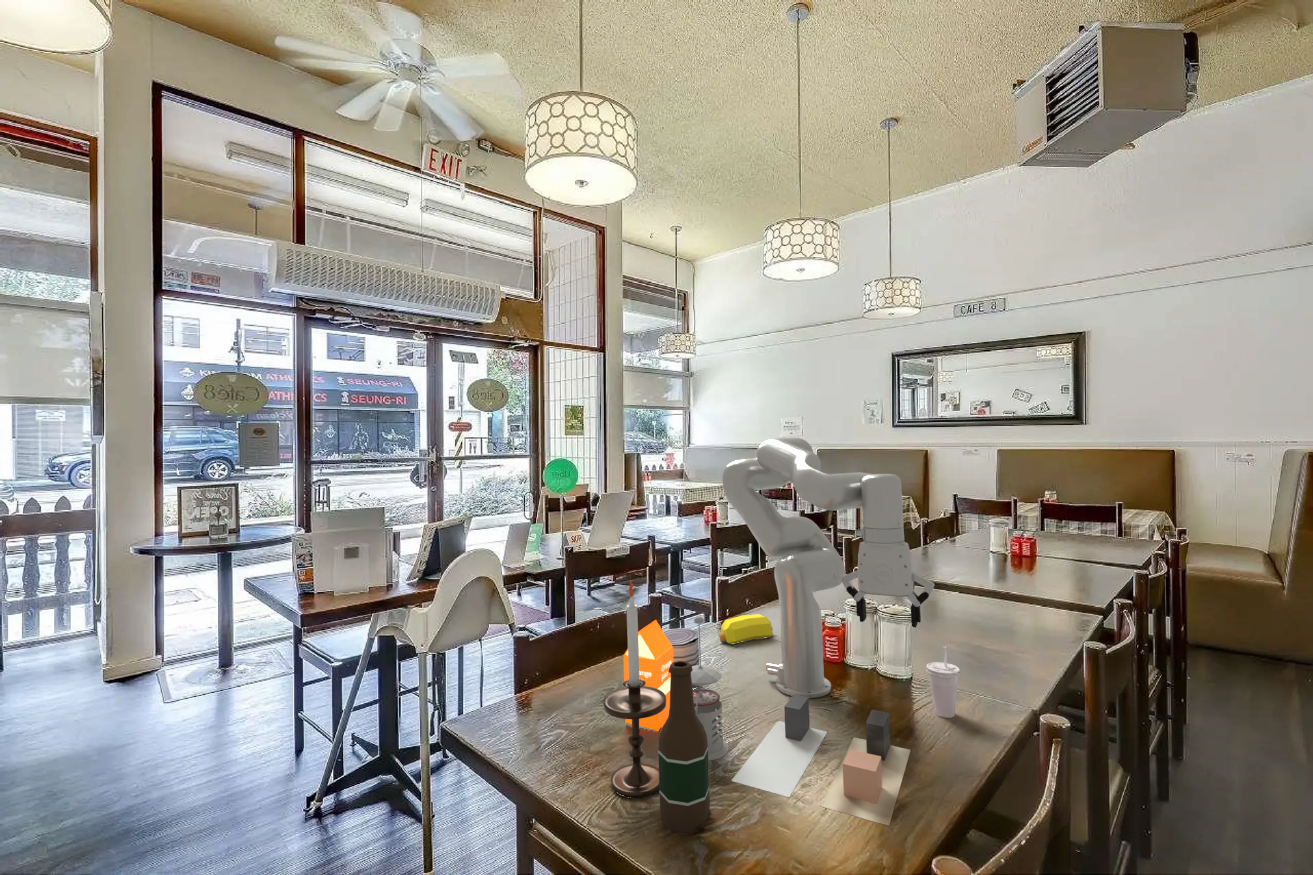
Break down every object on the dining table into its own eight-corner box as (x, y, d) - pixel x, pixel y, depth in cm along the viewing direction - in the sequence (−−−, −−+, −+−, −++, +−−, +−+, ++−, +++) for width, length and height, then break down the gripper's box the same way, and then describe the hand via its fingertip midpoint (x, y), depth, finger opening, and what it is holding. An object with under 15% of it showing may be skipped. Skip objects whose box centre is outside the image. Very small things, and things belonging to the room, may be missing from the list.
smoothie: (966, 721, 118) (963, 652, 119) (932, 719, 120) (929, 651, 120) (956, 707, 125) (953, 641, 125) (924, 705, 126) (922, 640, 126)
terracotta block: (843, 795, 93) (842, 763, 93) (850, 779, 98) (849, 749, 98) (876, 803, 91) (875, 771, 91) (882, 787, 95) (881, 756, 95)
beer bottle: (658, 806, 94) (653, 656, 94) (706, 802, 94) (701, 653, 95) (662, 838, 86) (657, 675, 86) (714, 833, 87) (709, 671, 87)
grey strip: (731, 786, 98) (730, 744, 98) (778, 725, 119) (777, 691, 119) (789, 803, 93) (787, 759, 93) (827, 736, 114) (826, 700, 114)
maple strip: (820, 812, 91) (819, 767, 91) (854, 742, 111) (852, 705, 111) (889, 832, 86) (887, 784, 86) (910, 755, 106) (909, 716, 106)
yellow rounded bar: (713, 640, 173) (726, 648, 166) (713, 617, 174) (725, 624, 166) (765, 631, 180) (779, 638, 173) (764, 609, 181) (778, 615, 173)
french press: (733, 737, 115) (729, 610, 115) (720, 769, 104) (715, 628, 104) (685, 731, 118) (681, 607, 119) (667, 761, 107) (663, 624, 108)
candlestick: (663, 803, 94) (656, 587, 95) (598, 799, 96) (592, 586, 97) (673, 767, 105) (666, 572, 106) (614, 763, 107) (608, 572, 107)
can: (701, 692, 136) (699, 641, 137) (652, 693, 137) (651, 642, 137) (698, 673, 148) (697, 626, 148) (654, 674, 148) (652, 627, 148)
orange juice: (675, 713, 126) (672, 620, 126) (658, 732, 118) (655, 633, 118) (643, 707, 129) (640, 617, 130) (624, 725, 121) (621, 629, 122)
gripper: (834, 537, 117) (839, 623, 117) (929, 540, 108) (934, 633, 108) (843, 532, 124) (848, 613, 123) (933, 534, 115) (938, 622, 114)
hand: (888, 622), depth 115 cm, fingers open, 9 cm apart
